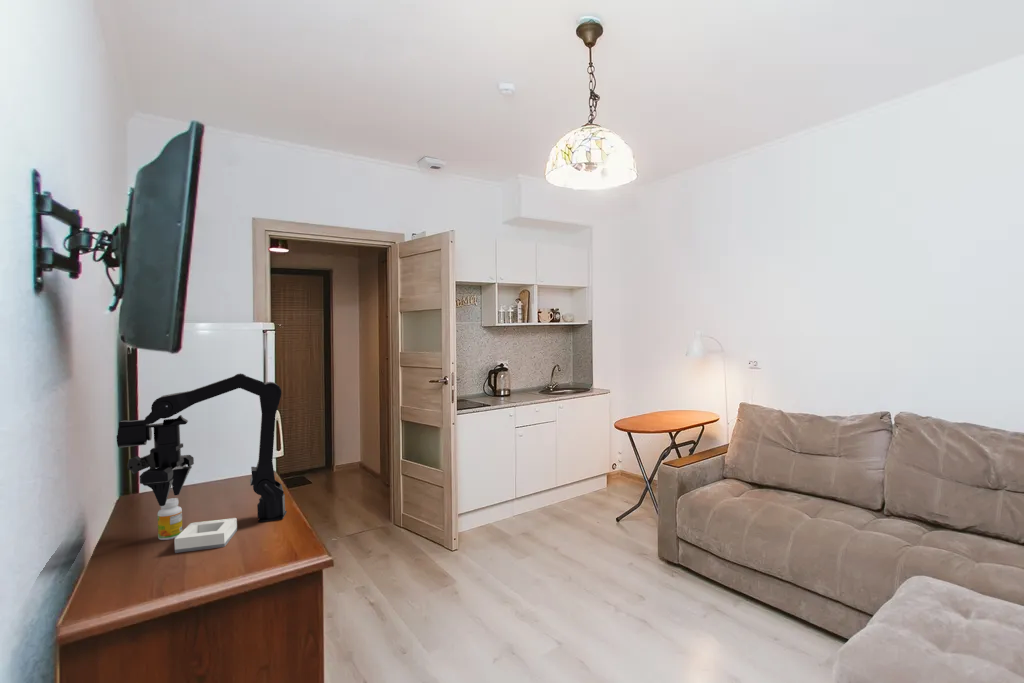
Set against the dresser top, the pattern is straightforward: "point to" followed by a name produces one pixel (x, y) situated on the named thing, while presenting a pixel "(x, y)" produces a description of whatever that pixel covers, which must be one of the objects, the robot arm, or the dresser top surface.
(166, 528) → the supplement bottle
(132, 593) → the dresser top surface
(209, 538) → the socket block
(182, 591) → the dresser top surface
